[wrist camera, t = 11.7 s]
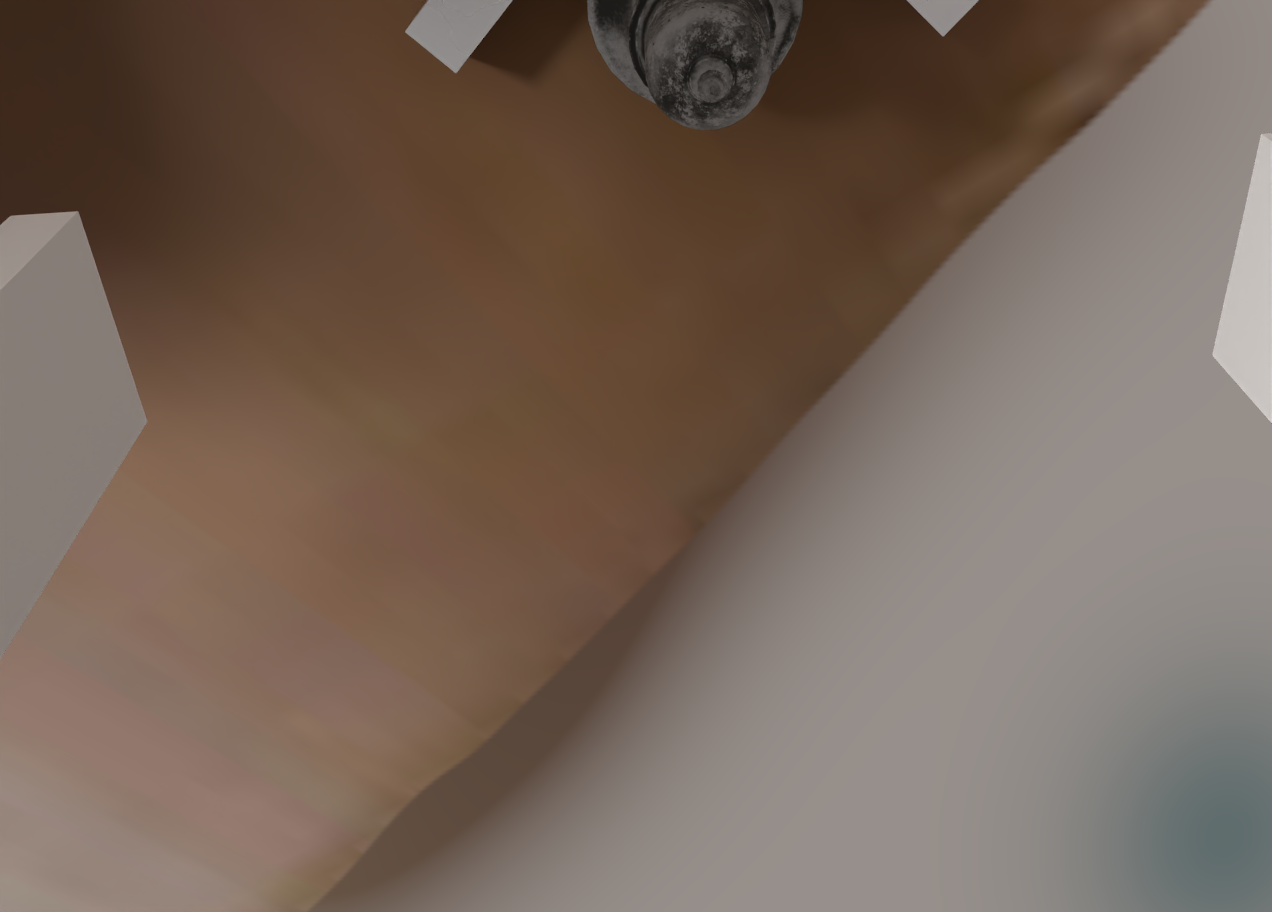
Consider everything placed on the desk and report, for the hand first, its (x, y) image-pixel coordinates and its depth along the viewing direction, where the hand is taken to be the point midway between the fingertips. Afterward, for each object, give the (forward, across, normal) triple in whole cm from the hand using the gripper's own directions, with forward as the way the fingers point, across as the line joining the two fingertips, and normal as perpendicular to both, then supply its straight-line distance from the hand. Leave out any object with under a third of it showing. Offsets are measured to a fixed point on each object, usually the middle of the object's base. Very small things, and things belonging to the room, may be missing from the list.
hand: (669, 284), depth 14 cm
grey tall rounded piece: (+25, +2, -2) cm, 25 cm away
